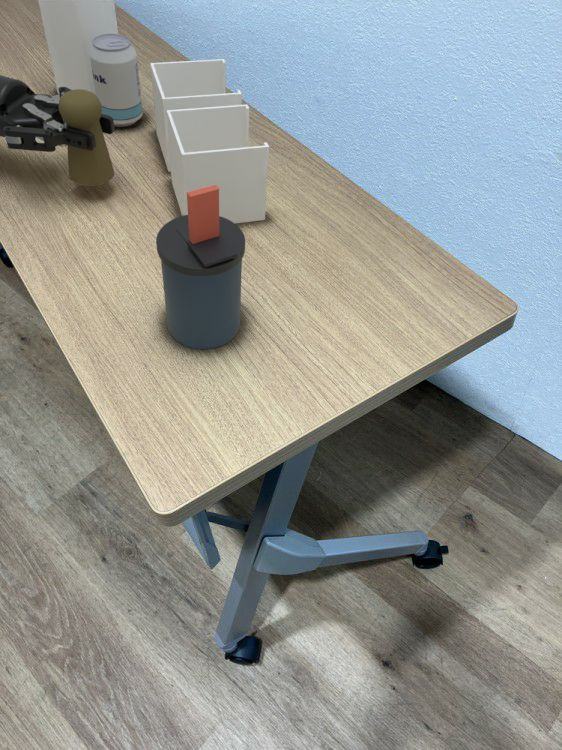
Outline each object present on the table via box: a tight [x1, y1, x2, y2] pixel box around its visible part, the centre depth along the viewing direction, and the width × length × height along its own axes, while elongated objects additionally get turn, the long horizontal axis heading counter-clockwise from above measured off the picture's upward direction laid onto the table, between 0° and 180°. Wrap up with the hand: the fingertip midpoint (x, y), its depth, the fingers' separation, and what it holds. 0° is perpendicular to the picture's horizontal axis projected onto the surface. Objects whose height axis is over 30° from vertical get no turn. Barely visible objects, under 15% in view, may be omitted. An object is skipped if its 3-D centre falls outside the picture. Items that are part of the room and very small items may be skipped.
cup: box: [37, 0, 119, 95], centre depth 98 cm, size 11×11×18 cm
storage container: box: [149, 58, 270, 224], centre depth 87 cm, size 25×11×11 cm, turn 16°
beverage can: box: [89, 33, 144, 128], centre depth 95 cm, size 7×7×12 cm
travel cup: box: [155, 215, 246, 350], centre depth 67 cm, size 9×9×12 cm
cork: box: [59, 89, 115, 187], centre depth 80 cm, size 6×6×11 cm
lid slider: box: [187, 185, 237, 267], centre depth 59 cm, size 4×4×6 cm
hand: (102, 133), depth 79 cm, fingers closed on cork, 4 cm apart
